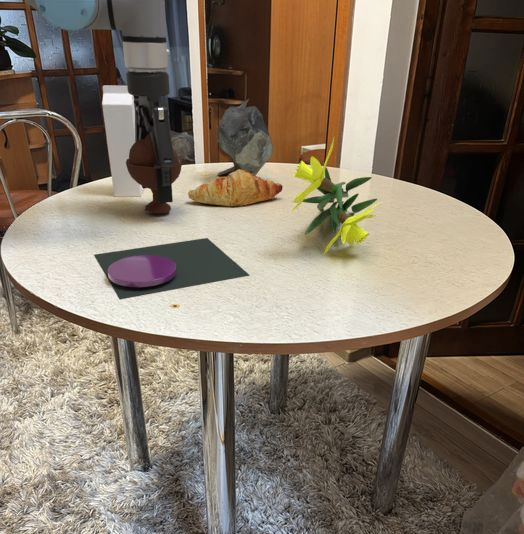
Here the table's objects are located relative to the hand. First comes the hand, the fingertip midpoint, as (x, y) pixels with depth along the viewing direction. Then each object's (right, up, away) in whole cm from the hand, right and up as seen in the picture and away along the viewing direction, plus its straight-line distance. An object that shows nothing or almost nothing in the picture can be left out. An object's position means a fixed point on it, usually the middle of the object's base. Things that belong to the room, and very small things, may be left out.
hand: (156, 194), depth 103 cm
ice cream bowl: (0, -3, +2) cm, 3 cm away
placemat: (+7, -18, -22) cm, 29 cm away
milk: (-9, +4, +14) cm, 17 cm away
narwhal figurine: (+17, +11, +25) cm, 32 cm away
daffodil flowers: (+34, -10, -7) cm, 36 cm away
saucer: (+3, -20, -26) cm, 33 cm away
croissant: (+15, +2, +11) cm, 19 cm away
